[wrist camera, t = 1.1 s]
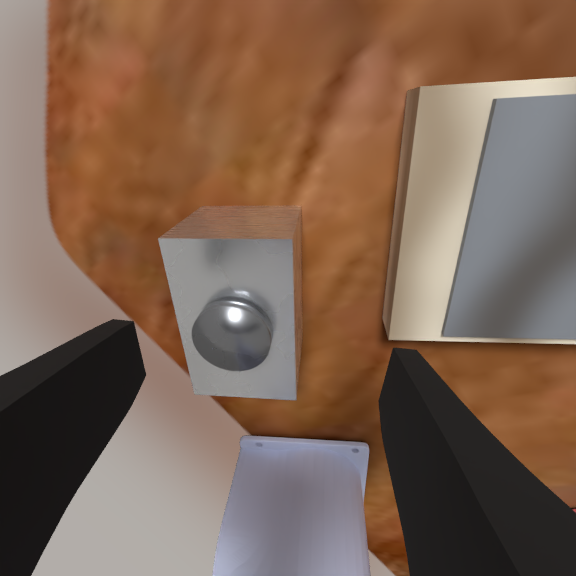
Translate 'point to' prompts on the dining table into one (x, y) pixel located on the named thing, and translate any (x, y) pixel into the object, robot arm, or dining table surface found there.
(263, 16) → the dining table surface
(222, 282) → the housing
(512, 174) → the stand
